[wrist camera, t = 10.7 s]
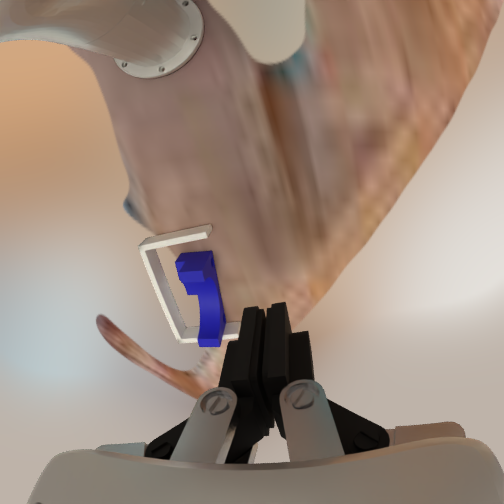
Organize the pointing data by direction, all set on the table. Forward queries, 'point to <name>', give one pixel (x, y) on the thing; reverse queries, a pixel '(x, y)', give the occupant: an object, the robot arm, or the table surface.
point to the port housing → (162, 286)
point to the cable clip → (204, 294)
